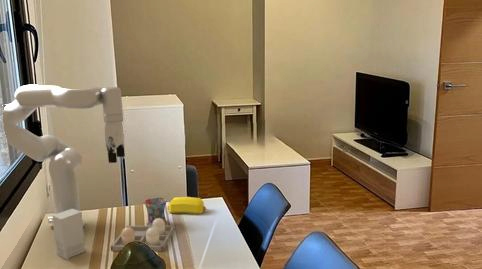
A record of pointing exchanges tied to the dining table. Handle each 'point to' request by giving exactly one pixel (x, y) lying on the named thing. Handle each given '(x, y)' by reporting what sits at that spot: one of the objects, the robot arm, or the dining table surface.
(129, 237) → the egg
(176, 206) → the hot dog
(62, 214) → the skincare box
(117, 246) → the carton
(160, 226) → the egg
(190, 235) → the dining table surface
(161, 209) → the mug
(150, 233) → the far egg
